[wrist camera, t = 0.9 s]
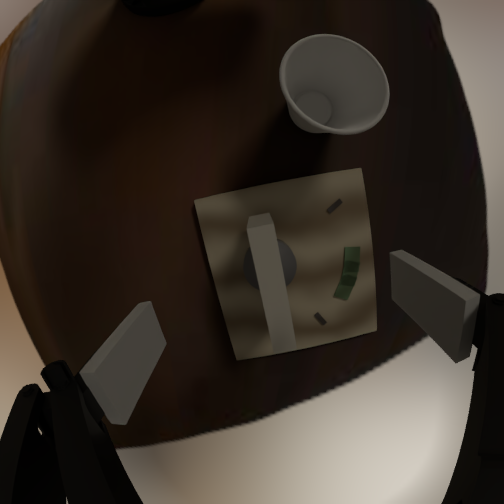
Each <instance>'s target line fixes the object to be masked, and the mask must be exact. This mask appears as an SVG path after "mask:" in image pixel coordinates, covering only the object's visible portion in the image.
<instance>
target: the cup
mask: <svg viewBox="0 0 504 504" xmlns="http://www.w3.org/2000/svg"><path fill="white" fill-rule="evenodd" d="M279 81H280V85H281V89H282V92H283V94H284V96H285V99H286V101H287V106H288V110H289V114H290V117H291V119H292V120H293V122H294V123H295V124H296V125H297V126H298V127H299V128H301V129H303V130H305V131H307V132H311V133H333V134H341V135H350V134H357V133H361V132H364V131H366V130H368V129H370V128H372V127H373V126H374V125H376V124H377V123H378V122H379V121H380V120H381V118H382V117H383V115H384V114H385V112H386V109H387V107H388V103H389V95H390V94H389V84H388V81H387V77H386V75H385V73H384V71H383V69H382V67H381V65H380V64H379V62H378V61H377V60H376V58H375V57H374V56H373V55H372V54H371V53H370V52H369V51H368V50H366V49H365V48H364V47H362V46H361V45H359V44H358V43H356V42H354V41H352V40H350V39H347V38H344V37H341V36H337V35H330V34H318V35H313V36H308V37H306V38H304V39H301V40H299V41H298V42H296V43H295V44H294V45H292V46H291V47H290V48H289V50H288V51H287V52H286V53H285V55H284V57H283V59H282V61H281V65H280V69H279Z"/></svg>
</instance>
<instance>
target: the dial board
mask: <svg viewBox="0 0 504 504" xmlns="http://www.w3.org/2000/svg"><path fill="white" fill-rule="evenodd" d="M194 202H195V207H196V211H197V215H198V219H199V224H200V228H201V232H202V236H203V240H204V244H205V248H206V252H207V256H208V260H209V263H210V267H211V271H212V275H213V279H214V282H215V286H216V290H217V294H218V297H219V301H220V304H221V308H222V312H223V315H224V319H225V322H226V326H227V329H228V333H229V336H230V339H231V343H232V346H233V349H234V353H235V356H236V359H237V360H243V359H249V358H256V357H262V356H268V355H273V354H274V352H273V347H272V343H271V338H270V334H269V329H268V324H267V320H266V315H265V311H264V306H263V302H262V297H261V293H260V290H258V289H256V288H254V287H253V286H252V285H251V284H250V283H249V282H248V281H247V279H246V277H245V275H244V271H243V263H244V257H245V254H246V251H247V249H248V248H249V247H250V243H249V238H248V234H247V224H248V219H249V217H250V216H255V215H259V214H264V213H270V216H271V218H272V220H273V223H274V227H275V232H276V237H277V239H280V240H282V241H284V242H285V243H286V244H287V245H288V246H289V247H290V248H291V250H292V252H293V254H294V256H295V258H296V263H297V269H296V274H295V276H294V278H293V280H292V281H291V283H290V284H289V285H288V286H286V290H287V295H288V301H289V306H290V312H291V317H292V323H293V329H294V334H295V340H296V346H297V350H299V349H304V348H309V347H313V346H318V345H322V344H326V343H331V342H335V341H339V340H343V339H347V338H351V337H355V336H358V335H362V334H366V333H369V332H373V331H376V330H377V316H376V289H375V272H374V260H373V248H372V239H371V230H370V221H369V214H368V207H367V200H366V193H365V187H364V181H363V175H362V170H361V168H357V169H350V170H343V171H337V172H330V173H324V174H318V175H312V176H307V177H301V178H296V179H290V180H285V181H280V182H274V183H269V184H264V185H259V186H255V187H250V188H245V189H241V190H236V191H231V192H227V193H223V194H218V195H214V196H210V197H205V198H201V199H197V200H194ZM293 351H294V350H293ZM288 352H289V351H288ZM282 353H284V352H282ZM277 354H279V353H277Z"/></svg>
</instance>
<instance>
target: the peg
mask: <svg viewBox="0 0 504 504" xmlns="http://www.w3.org/2000/svg"><path fill="white" fill-rule="evenodd" d="M247 234H248V238H249V243H250V247H249V248H248V249H247V251H246V254H245V257H244V263H243V271H244V275H245V277H246V279H247V281H248V282H249V283H250V284H251V285H252V286H253V287H254V288H256V289H258V290H260V293H261V297H262V302H263V306H264V311H265V315H266V320H267V324H268V329H269V334H270V338H271V343H272V347H273V352H274V354H277V353H282V352H288V351H293V350H297V346H296V340H295V334H294V329H293V323H292V317H291V312H290V306H289V301H288V295H287V290H286V286H288V285H289V284H290V283H291V281H292V280H293V278H294V276H295V274H296V269H297V263H296V258H295V256H294V254H293V252H292V250H291V248H290V247H289V246H288V245H287V244H286V243H285V242H284V241H282V240H280V239H277V237H276V232H275V227H274V223H273V220H272V218H271V216H270V213H264V214H259V215H255V216H250V217H249V219H248V224H247Z"/></svg>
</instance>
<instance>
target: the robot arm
mask: <svg viewBox="0 0 504 504" xmlns="http://www.w3.org/2000/svg"><path fill="white" fill-rule="evenodd" d="M121 1H122V2H123V4H124V5H125V6H126V7H127V8H128V9H129V10H130V11H131V12H133V13H135V14H138V15H142V16H159V15H165V14H170V13H174V12H177V11H180V10H183V9H185V8H187V7H190V6H192V5H194V4H195V3H197V2H199V1H201V0H121ZM390 265H391V285H392V300H393V301H394V302H396V303H397V304H398V305H399V306H400V307H401V308H402V309H403V310H404V311H405V312H406V313H407V314H408V315H409V316H410V317H411V318H412V319H413V320H414V321H415V322H416V323H417V324H418V325H419V326H420V327H421V328H422V329H423V330H424V331H425V332H426V333H427V334H428V335H429V336H430V337H431V338H432V339H433V340H434V341H435V342H436V343H437V344H438V345H439V346H440V347H441V348H442V349H443V350H444V351H445V353H447V355H449V357H450V358H451V359H452V360H453V361H454V362H455V363H458V362H460V361H462V360H464V359H466V358H468V357H469V356H470V353H471V348H472V344H473V345H475V347H477V348H478V349H477V354H476V358H475V362H474V365H473V369H472V371H475V373H474V382H473V389H472V396H471V403H470V408H469V414H468V420H467V424H466V429H465V433H464V437H463V441H462V445H461V449H460V453H459V457H458V460H457V463H456V466H455V469H454V472H453V476H452V478H451V481H450V485H449V487H448V489H447V492H446V495H445V497H444V499H443V502H442V504H504V294H501V293H496V294H492V295H490V296H488V295H486V294H485V293H483V292H481V291H480V290H478V289H476V288H475V287H473V286H471V285H470V284H467V283H466V282H464V281H463V280H461V279H458V278H454V277H450V276H448V275H446V274H445V273H443V272H441V271H439V270H438V269H436V268H434V267H432V266H431V265H429V264H427V263H425V262H423V261H422V260H420V259H418V258H416V257H414V256H412V255H410V254H409V253H407V252H405V251H403V250H399V251H394V252H390ZM166 344H167V343H166V341H165V338H164V336H163V333H162V331H161V328H160V325H159V323H158V320H157V317H156V315H155V312H154V309H153V306H152V303H151V301H149V302H143V303H139V304H138V305H137V306H136V307H135V308H134V309H133V310H132V311H131V313H130V314H129V315H128V316H127V317H126V318H125V319H124V321H123V322H122V323H121V324H120V325H119V326H118V327H117V328H116V330H115V331H114V332H113V333H112V334H111V335H110V337H109V338H108V339H107V340H106V341H105V342H104V344H103V345H102V346H101V347H100V348H99V349H98V350H97V351H96V352H95V353H94V354H93V355H92V356H91V357H90V360H88V361H87V362H86V364H85V365H84V366H83V367H82V368H81V369H80V371H79V372H78V373H77V374H76V375H75V377H74V376H73V374H72V372H71V371H70V369H69V367H68V365H67V363H66V362H65V361H63V360H58V361H55V362H52V363H50V364H48V365H47V366H46V367H44V368H43V370H42V371H41V376H42V378H43V379H44V381H45V383H46V384H47V386H48V388H49V389H50V392H44V393H43V392H42V391H41V389H40V387H39V386H38V385H37V384H29V385H26V386H24V387H23V388H22V389H21V390H20V391H19V393H18V394H17V397H16V399H15V402H14V404H13V406H12V409H11V412H10V414H9V417H8V419H7V422H6V425H5V427H4V431H3V433H2V436H1V439H0V504H66V497H67V501H68V504H143V502H142V501H141V499H140V497H139V495H138V494H137V492H136V490H135V488H134V486H133V485H132V483H131V481H130V479H129V477H128V475H127V473H126V471H125V469H124V467H123V465H122V463H121V461H120V459H119V456H118V454H117V452H116V450H115V448H114V445H113V443H112V441H111V438H110V436H109V433H108V431H107V428H106V426H105V424H104V423H103V422H102V420H101V419H102V417H103V416H104V414H105V415H106V417H107V418H108V419H109V421H110V422H111V424H121V425H126V424H127V421H128V419H129V417H130V415H131V413H132V411H133V409H134V407H135V405H136V403H137V401H138V399H139V397H140V395H141V393H142V391H143V389H144V387H145V385H146V383H147V381H148V379H149V377H150V375H151V373H152V371H153V369H154V367H155V365H156V363H157V361H158V359H159V357H160V355H161V353H162V352H163V350H164V348H165V346H166ZM38 428H39V429H40V430H41V432H42V435H41V434H40V432H39V430H38Z"/></svg>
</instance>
